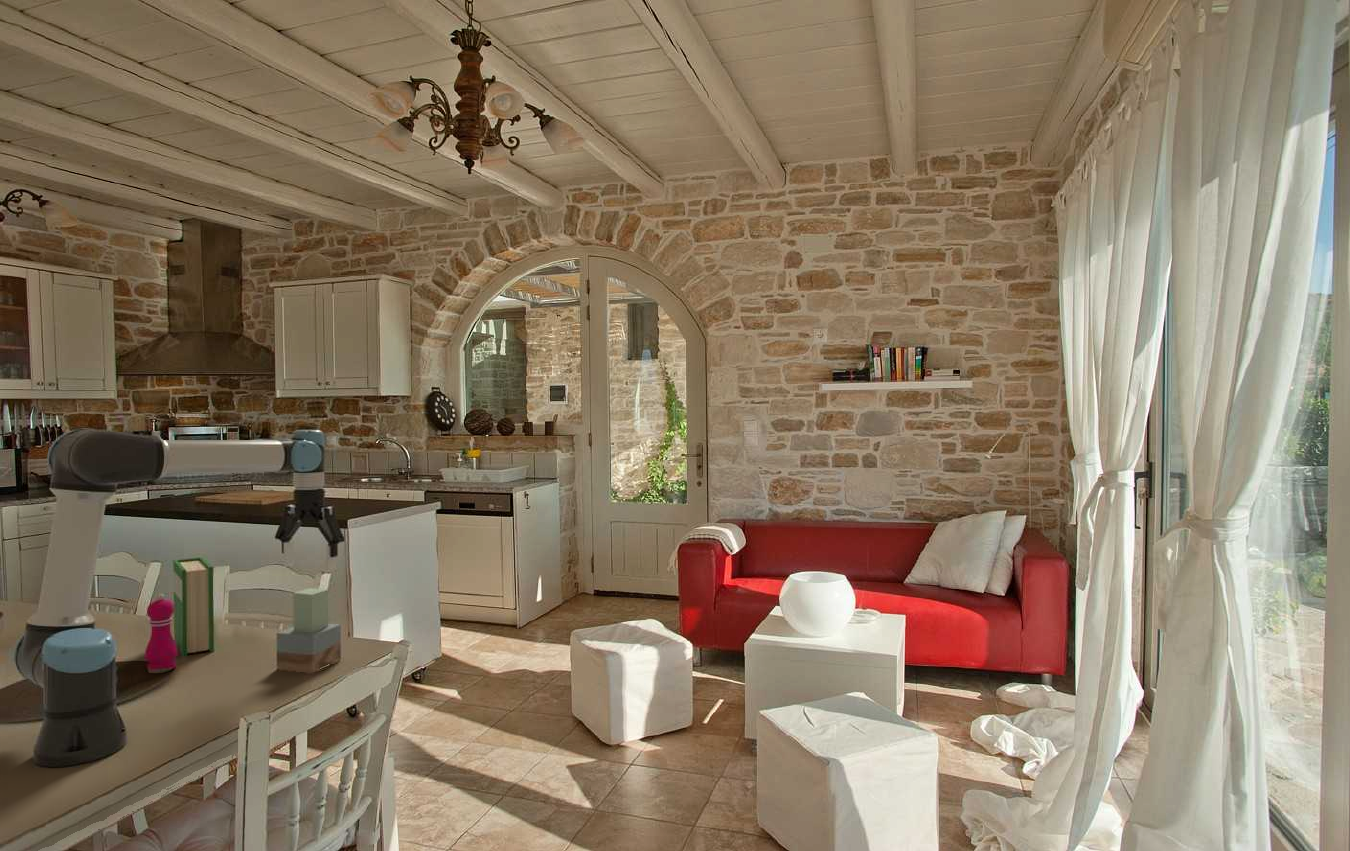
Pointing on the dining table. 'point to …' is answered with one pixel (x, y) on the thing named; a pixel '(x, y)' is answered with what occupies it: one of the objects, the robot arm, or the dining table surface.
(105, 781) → the dining table surface
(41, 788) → the dining table surface
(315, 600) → the sage block
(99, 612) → the dining table surface
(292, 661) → the tower bottom block
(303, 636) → the tower top block
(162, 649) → the pepper mill
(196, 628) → the hardback book
